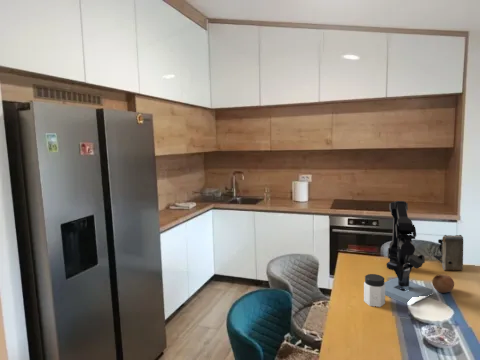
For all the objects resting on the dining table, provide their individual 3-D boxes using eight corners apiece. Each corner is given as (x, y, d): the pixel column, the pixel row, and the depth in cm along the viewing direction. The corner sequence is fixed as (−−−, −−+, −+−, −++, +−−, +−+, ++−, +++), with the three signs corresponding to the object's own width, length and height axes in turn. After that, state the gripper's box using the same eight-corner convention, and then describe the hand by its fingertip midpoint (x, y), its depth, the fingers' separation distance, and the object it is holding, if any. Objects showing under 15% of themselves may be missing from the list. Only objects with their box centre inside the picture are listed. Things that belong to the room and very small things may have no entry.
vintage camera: (449, 262, 198) (449, 228, 197) (463, 271, 183) (463, 235, 181) (431, 262, 199) (431, 229, 198) (444, 271, 184) (444, 236, 182)
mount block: (397, 281, 174) (397, 277, 174) (432, 294, 159) (432, 289, 159) (375, 291, 165) (375, 286, 164) (410, 305, 149) (410, 300, 149)
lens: (401, 281, 165) (402, 263, 163) (411, 284, 160) (411, 266, 159) (395, 284, 162) (396, 266, 161) (405, 287, 158) (405, 269, 157)
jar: (364, 305, 151) (364, 280, 150) (363, 297, 159) (363, 273, 157) (385, 308, 148) (386, 282, 147) (384, 299, 156) (384, 274, 155)
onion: (436, 298, 161) (428, 282, 159) (436, 286, 168) (428, 270, 167) (458, 296, 156) (450, 279, 154) (456, 283, 163) (449, 267, 161)
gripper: (408, 257, 147) (408, 290, 149) (432, 248, 157) (431, 280, 159) (386, 250, 157) (385, 282, 159) (409, 242, 166) (408, 272, 168)
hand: (403, 279), depth 161 cm, fingers closed on lens, 5 cm apart
